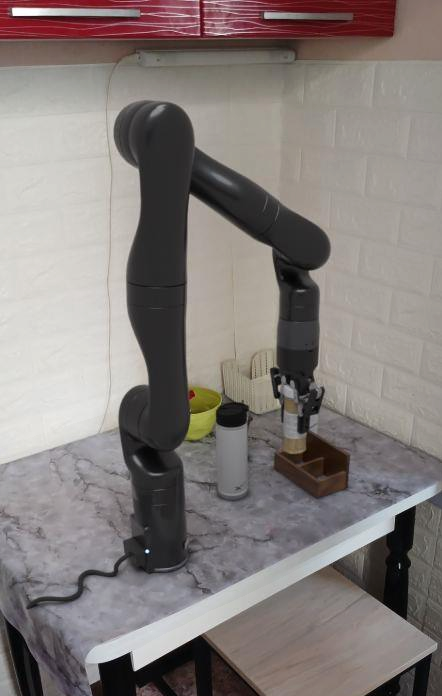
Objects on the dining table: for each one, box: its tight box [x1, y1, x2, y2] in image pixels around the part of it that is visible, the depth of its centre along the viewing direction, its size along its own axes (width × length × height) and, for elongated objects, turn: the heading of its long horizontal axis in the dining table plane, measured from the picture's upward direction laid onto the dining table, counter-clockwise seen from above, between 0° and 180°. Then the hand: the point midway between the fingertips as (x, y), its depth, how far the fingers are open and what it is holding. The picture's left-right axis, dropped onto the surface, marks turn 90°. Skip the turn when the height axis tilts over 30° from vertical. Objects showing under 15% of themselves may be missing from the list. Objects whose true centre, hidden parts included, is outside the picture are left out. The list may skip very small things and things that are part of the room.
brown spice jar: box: [282, 384, 308, 454], centre depth 142 cm, size 5×5×14 cm
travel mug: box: [215, 401, 250, 501], centre depth 154 cm, size 6×7×20 cm
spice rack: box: [273, 430, 351, 500], centre depth 161 cm, size 8×15×8 cm, turn 32°
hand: (294, 427), depth 143 cm, fingers closed on brown spice jar, 4 cm apart
